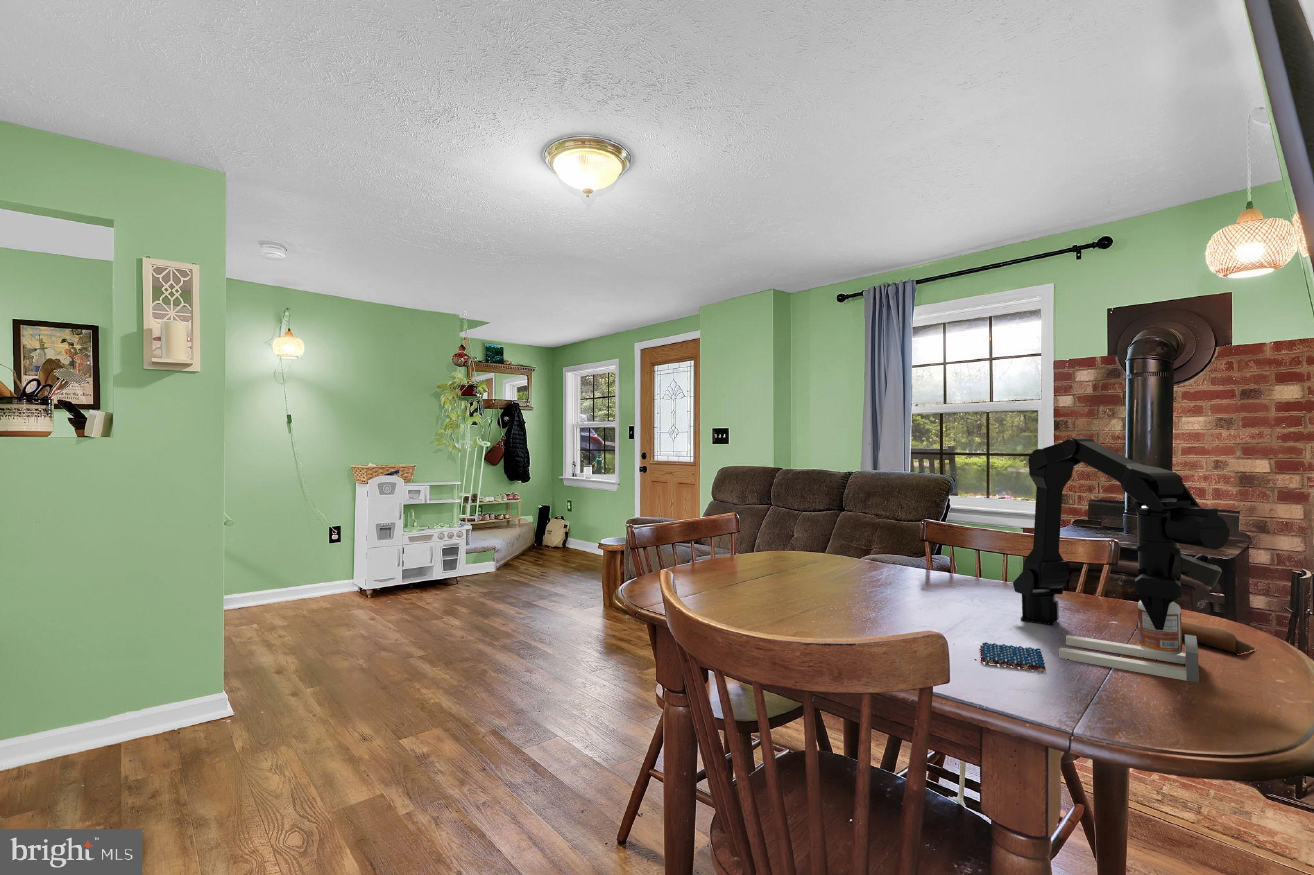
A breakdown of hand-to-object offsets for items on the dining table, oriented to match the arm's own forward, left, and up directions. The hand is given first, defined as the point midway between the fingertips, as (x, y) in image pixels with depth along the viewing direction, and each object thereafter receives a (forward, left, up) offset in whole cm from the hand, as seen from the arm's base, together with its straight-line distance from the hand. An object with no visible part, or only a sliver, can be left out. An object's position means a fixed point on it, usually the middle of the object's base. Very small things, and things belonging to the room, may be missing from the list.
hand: (1159, 625), depth 112 cm
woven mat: (-22, -12, -8) cm, 26 cm away
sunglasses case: (+5, +23, -8) cm, 25 cm away
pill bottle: (0, 0, -5) cm, 5 cm away
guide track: (-5, 0, -7) cm, 9 cm away
